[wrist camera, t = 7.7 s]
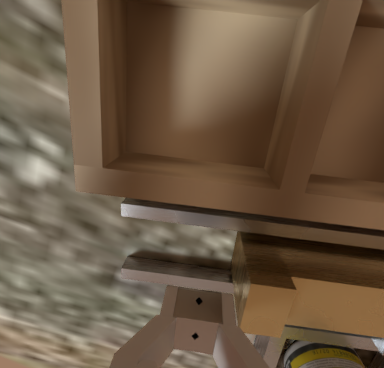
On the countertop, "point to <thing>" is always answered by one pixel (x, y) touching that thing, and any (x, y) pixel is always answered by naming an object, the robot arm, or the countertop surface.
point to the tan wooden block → (307, 285)
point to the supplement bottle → (320, 356)
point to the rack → (231, 104)
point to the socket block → (222, 279)
